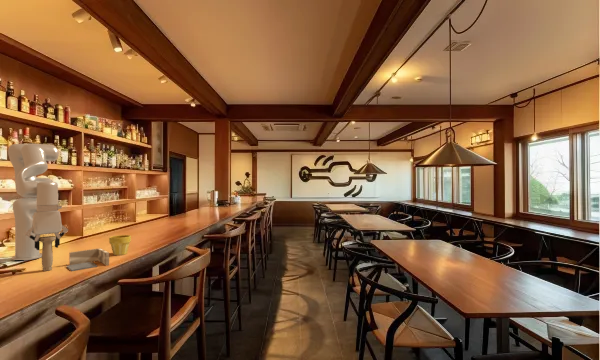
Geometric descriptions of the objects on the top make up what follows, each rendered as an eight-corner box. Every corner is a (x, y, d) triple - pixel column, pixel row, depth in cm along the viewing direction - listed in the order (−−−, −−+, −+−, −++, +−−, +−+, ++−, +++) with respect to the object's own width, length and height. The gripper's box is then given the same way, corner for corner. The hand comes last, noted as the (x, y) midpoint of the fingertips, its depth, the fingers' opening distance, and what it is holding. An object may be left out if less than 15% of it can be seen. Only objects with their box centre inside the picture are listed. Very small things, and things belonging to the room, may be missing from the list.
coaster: (66, 267, 145) (66, 265, 145) (91, 262, 152) (91, 261, 152) (71, 271, 138) (71, 270, 138) (97, 266, 145) (97, 265, 145)
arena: (69, 264, 148) (69, 252, 148) (100, 259, 158) (100, 248, 158) (76, 270, 139) (76, 257, 139) (109, 265, 148) (109, 252, 148)
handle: (50, 271, 137) (50, 238, 137) (35, 271, 137) (35, 238, 137) (58, 268, 142) (58, 236, 142) (44, 268, 142) (44, 236, 142)
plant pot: (119, 251, 177) (119, 234, 177) (135, 252, 175) (135, 235, 175) (104, 255, 167) (104, 237, 167) (121, 256, 164) (121, 238, 164)
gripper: (68, 207, 148) (68, 244, 148) (20, 209, 136) (20, 250, 136) (72, 208, 143) (72, 246, 143) (23, 210, 131) (22, 253, 131)
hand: (47, 248), depth 140 cm, fingers closed on handle, 6 cm apart
